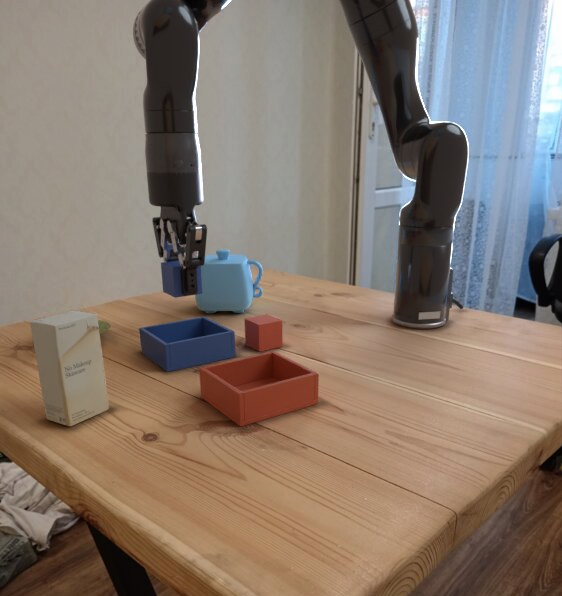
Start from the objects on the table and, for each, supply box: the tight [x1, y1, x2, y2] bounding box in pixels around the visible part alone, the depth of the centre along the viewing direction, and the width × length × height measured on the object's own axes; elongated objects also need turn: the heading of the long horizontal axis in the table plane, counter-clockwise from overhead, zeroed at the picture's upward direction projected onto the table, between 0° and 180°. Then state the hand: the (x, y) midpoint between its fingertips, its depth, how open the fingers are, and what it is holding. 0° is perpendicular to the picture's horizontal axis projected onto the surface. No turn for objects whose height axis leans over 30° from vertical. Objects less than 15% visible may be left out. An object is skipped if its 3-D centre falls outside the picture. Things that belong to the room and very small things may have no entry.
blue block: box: [160, 261, 202, 299], centre depth 84 cm, size 4×4×4 cm
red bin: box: [198, 350, 320, 427], centre depth 72 cm, size 11×10×4 cm
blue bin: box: [138, 316, 236, 373], centre depth 88 cm, size 11×10×4 cm
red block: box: [244, 313, 283, 352], centre depth 92 cm, size 4×4×4 cm
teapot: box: [194, 248, 264, 314], centre depth 113 cm, size 12×18×12 cm
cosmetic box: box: [29, 309, 110, 427], centre depth 67 cm, size 6×4×12 cm
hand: (182, 290), depth 85 cm, fingers closed on blue block, 4 cm apart
